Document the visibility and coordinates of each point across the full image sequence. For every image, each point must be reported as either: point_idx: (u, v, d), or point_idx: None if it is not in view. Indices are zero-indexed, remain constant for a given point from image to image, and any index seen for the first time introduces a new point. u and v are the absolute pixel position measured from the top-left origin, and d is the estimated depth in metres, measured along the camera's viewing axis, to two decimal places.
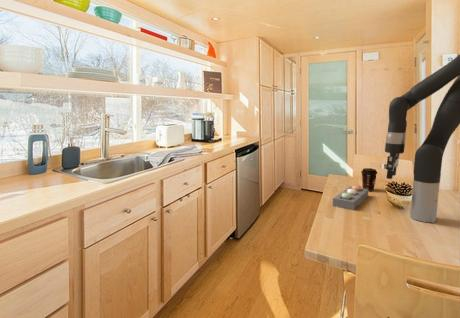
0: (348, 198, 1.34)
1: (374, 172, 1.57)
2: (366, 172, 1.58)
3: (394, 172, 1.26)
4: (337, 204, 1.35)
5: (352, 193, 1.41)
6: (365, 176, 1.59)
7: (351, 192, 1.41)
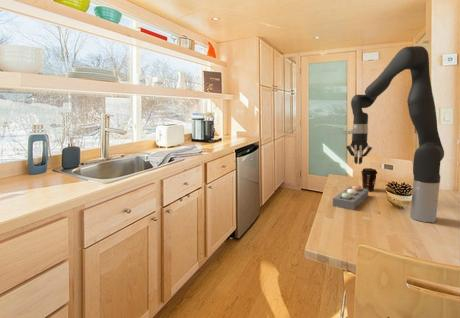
0: (348, 198, 1.34)
1: (374, 172, 1.57)
2: (366, 172, 1.58)
3: (357, 160, 1.48)
4: (337, 204, 1.35)
5: (352, 193, 1.41)
6: (365, 176, 1.59)
7: (351, 192, 1.41)
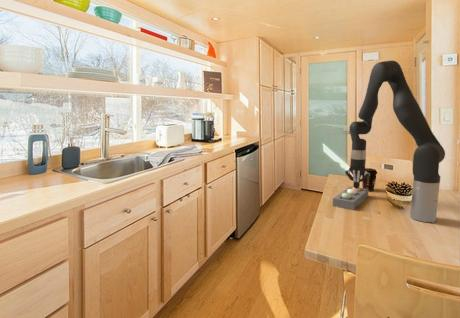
0: (348, 198, 1.34)
1: (374, 172, 1.57)
2: None
3: None
4: (337, 204, 1.35)
5: (352, 193, 1.41)
6: None
7: (351, 192, 1.41)
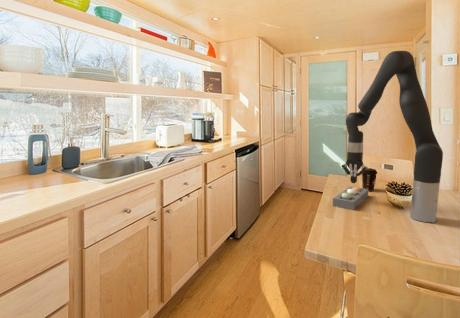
0: (348, 198, 1.34)
1: (374, 172, 1.57)
2: (366, 172, 1.58)
3: None
4: (337, 204, 1.35)
5: (352, 193, 1.41)
6: (365, 176, 1.59)
7: (351, 192, 1.41)
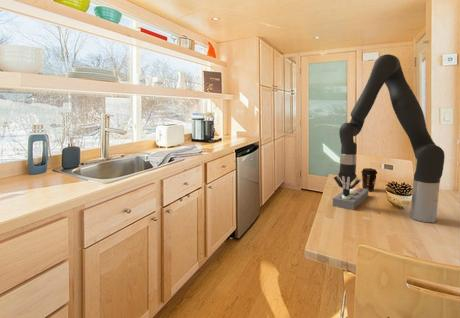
0: None
1: (374, 172, 1.57)
2: (366, 172, 1.58)
3: None
4: (337, 204, 1.35)
5: (352, 193, 1.41)
6: (365, 176, 1.59)
7: (351, 192, 1.41)
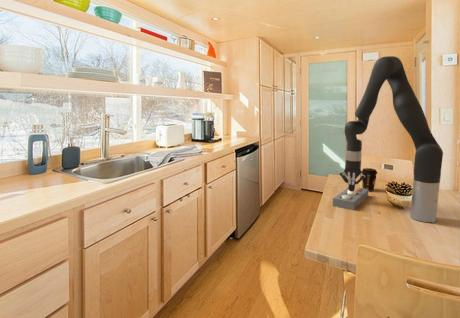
0: None
1: (374, 172, 1.57)
2: (366, 172, 1.58)
3: None
4: (337, 204, 1.35)
5: (352, 194, 1.41)
6: None
7: (351, 193, 1.41)
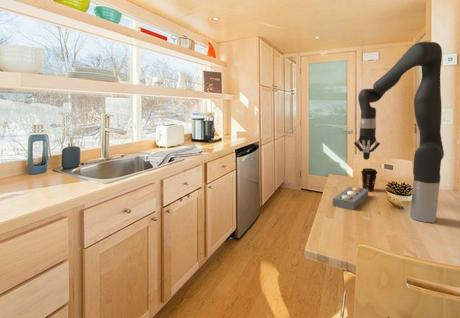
0: None
1: (374, 172, 1.57)
2: (366, 172, 1.58)
3: None
4: (337, 204, 1.35)
5: None
6: (365, 176, 1.59)
7: (351, 194, 1.41)
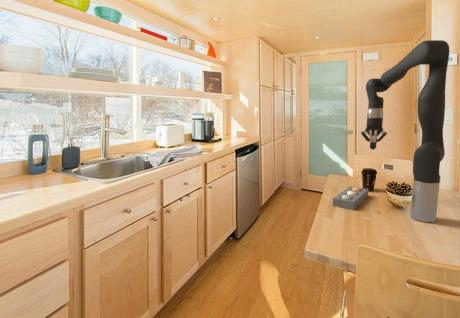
0: None
1: (374, 172, 1.57)
2: (366, 172, 1.58)
3: None
4: (337, 204, 1.35)
5: None
6: (365, 176, 1.59)
7: (351, 194, 1.41)
